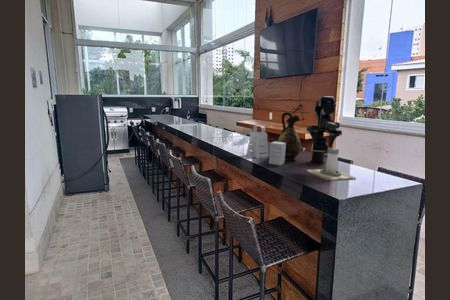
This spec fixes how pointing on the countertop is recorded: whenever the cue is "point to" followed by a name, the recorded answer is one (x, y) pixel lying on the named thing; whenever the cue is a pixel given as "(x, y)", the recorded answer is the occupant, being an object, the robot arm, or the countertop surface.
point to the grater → (258, 143)
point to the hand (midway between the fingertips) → (322, 146)
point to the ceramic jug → (290, 137)
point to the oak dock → (330, 175)
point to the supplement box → (277, 153)
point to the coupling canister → (332, 160)
